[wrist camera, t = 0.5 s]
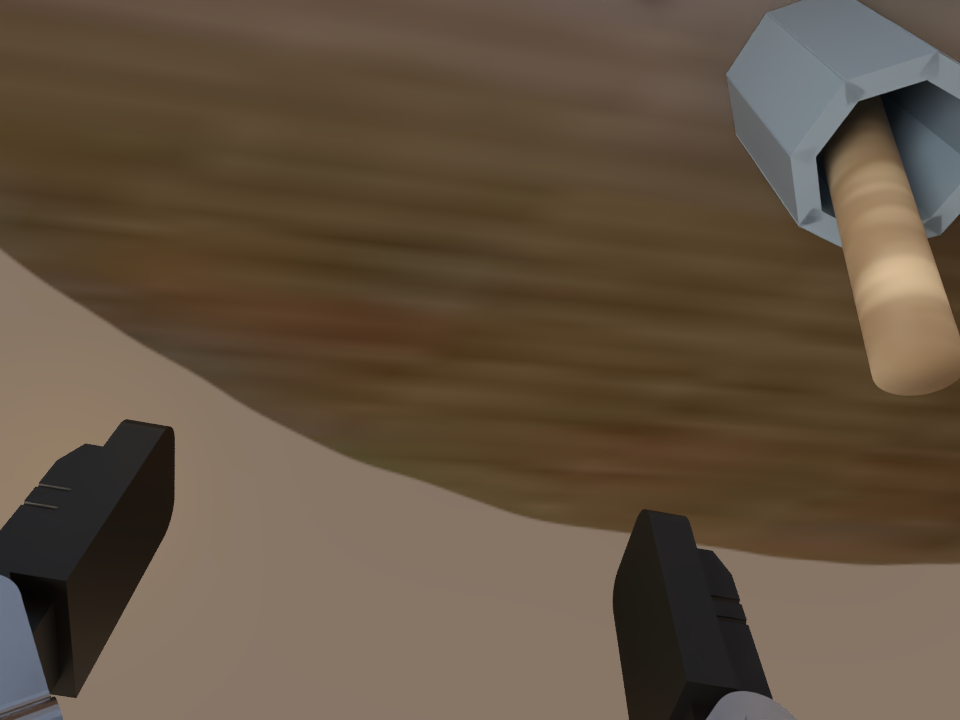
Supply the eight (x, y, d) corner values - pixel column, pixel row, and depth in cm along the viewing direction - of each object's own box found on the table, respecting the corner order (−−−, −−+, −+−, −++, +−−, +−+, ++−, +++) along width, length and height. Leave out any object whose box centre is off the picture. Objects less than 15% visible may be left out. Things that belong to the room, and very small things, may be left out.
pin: (828, 23, 32) (1032, 222, 20) (875, 50, 33) (1103, 260, 20) (736, 150, 36) (859, 388, 23) (780, 173, 36) (923, 418, 24)
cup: (797, -36, 32) (888, 21, 25) (926, 42, 33) (1048, 117, 26) (698, 115, 35) (753, 203, 28) (820, 178, 37) (901, 278, 30)
